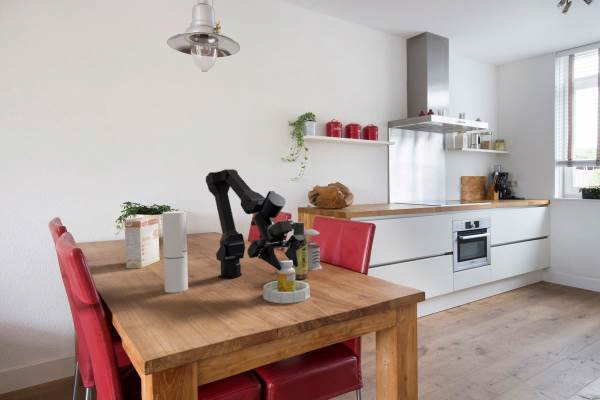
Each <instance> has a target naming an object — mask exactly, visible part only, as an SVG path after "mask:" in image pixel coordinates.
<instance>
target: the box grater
mask: <svg viewBox="0 0 600 400" xmlns="http://www.w3.org/2000/svg"><path fill="white" fill-rule="evenodd" d="M306 207H307V209H308V212H309V213H308V215H309V218H308V219H309V220H308V221H309V228H308V229H304V236H305V239H306V241H307V240H308V239H307V237H309V241H307V244H308V271H318V269H319V270H322V269H323V266H322V265H321V263H320V262H321V261H320V258H321V256H320V255H321V254H320V246H318V245H319V244H320V243H319V242H317V241H311V236H319V235H320V234H321V233H320V232H319V231H318V230H315V229H312V228H311V212H310V211H311V209H312V205H311V204H308V205H307V206H306Z"/></svg>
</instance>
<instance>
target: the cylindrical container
mask: <svg viewBox="0 0 600 400" xmlns="http://www.w3.org/2000/svg"><path fill="white" fill-rule="evenodd" d="M187 236H188V235H187V211H179V210H177V211H176V210H175V211H163V212H162V246H163V250H162V251H163V272H164V273H163V276H164V277H163V278H164V292H166V293H168V294H169V293H174V294H175V293H181V292H185V291H187V290H188V289H189V283H188V280H189V279H188V277H189V276H188V274H189V273H188V245H187V244H188V243H187V241H188V240H187V238H188V237H187Z"/></svg>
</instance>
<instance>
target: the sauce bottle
mask: <svg viewBox="0 0 600 400" xmlns="http://www.w3.org/2000/svg"><path fill="white" fill-rule="evenodd" d="M293 222H294V223H295V228H294V229H293V231H292V232H293V234H292V235H298V234H301V235H303V237H304V238H306V236H304V230H305V222H304V221H293ZM306 239H307V238H306ZM306 239H305V241H304V243H303V244H302V245H301V247H300V248H299V249H298V250H297V251H296V253H297V260H298V266H297V267H295V266H294V265H293V266H292V267H293V268H294V269H295V280H303V279H307V278H308V272H309V270H308V244H307V242H308V241H306Z"/></svg>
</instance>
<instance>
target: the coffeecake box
mask: <svg viewBox="0 0 600 400" xmlns="http://www.w3.org/2000/svg"><path fill="white" fill-rule="evenodd" d="M159 234H160V233H159V217H158V216H142V217H135V218H132V219H131V218H130V219H127V220H124V235H125V236H124V239H125V258H126V259H125V261H126V265H125V266H126V269H143V268H146V267H148V266H150V265H152V264H154V263H157V262H160V241H159V240H160V237H159Z"/></svg>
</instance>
